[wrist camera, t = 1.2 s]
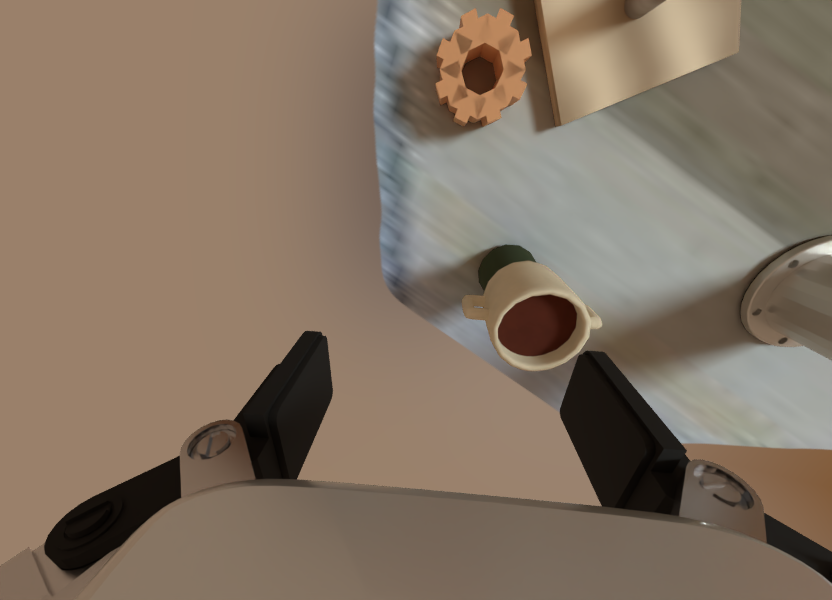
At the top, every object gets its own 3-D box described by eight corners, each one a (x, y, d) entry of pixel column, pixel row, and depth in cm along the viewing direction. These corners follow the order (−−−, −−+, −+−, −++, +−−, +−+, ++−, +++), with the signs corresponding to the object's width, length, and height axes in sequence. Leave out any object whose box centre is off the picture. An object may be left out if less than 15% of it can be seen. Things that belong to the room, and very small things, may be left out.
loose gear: (508, 7, 24) (518, -15, 21) (528, 107, 26) (540, 100, 23) (423, 51, 25) (421, 37, 22) (451, 140, 28) (452, 139, 25)
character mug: (453, 295, 35) (459, 365, 24) (460, 235, 32) (471, 282, 20) (547, 302, 35) (601, 378, 23) (564, 242, 31) (636, 295, 20)
